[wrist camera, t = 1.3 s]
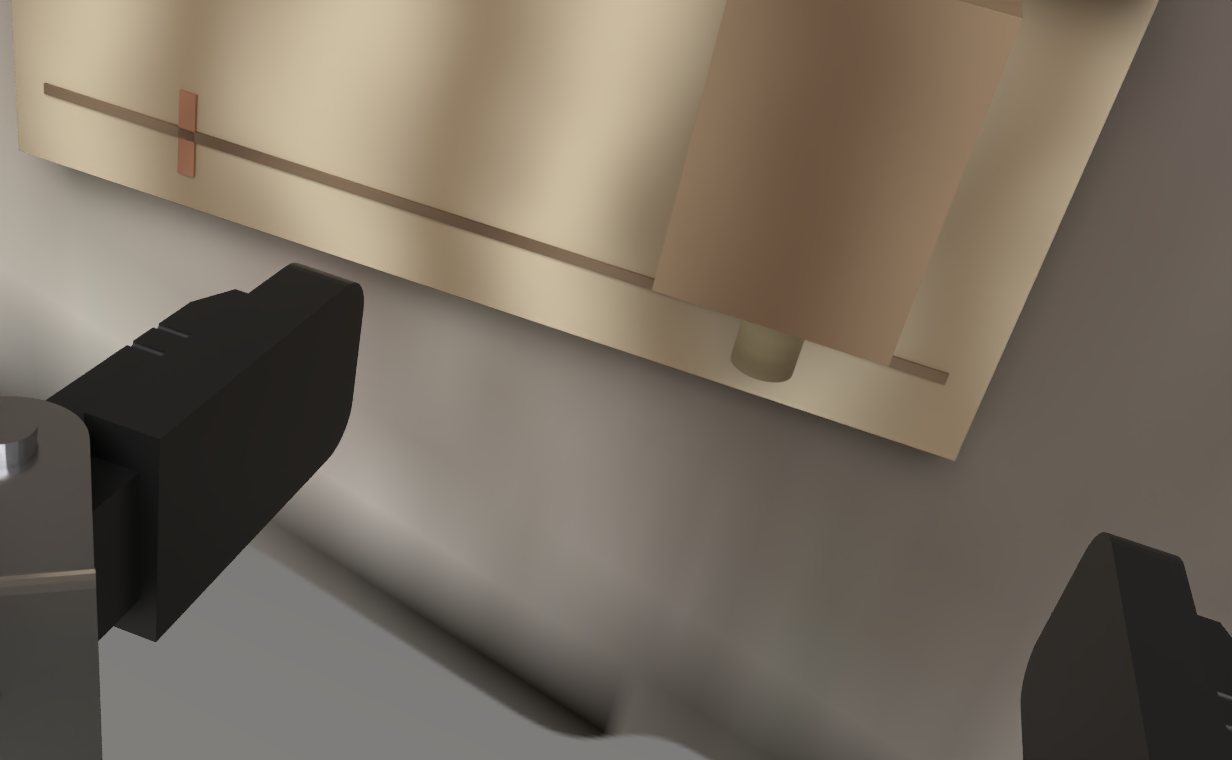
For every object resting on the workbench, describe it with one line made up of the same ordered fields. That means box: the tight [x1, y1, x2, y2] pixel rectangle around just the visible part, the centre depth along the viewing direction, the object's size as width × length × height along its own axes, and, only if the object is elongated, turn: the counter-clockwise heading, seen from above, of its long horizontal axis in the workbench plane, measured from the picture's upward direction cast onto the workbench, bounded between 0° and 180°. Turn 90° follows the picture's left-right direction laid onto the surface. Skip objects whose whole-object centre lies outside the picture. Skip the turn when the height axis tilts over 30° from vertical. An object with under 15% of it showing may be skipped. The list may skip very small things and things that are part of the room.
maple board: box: [11, 0, 1159, 461], centre depth 29 cm, size 28×14×4 cm, turn 77°
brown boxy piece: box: [652, 0, 1023, 383], centre depth 25 cm, size 5×10×6 cm, turn 167°
